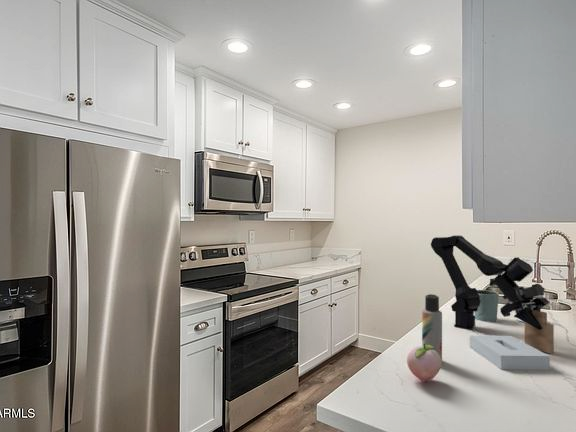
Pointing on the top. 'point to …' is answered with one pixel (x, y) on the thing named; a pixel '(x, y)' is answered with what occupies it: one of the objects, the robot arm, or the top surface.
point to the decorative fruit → (424, 362)
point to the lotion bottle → (432, 324)
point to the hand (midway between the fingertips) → (543, 328)
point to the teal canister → (487, 306)
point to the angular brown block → (540, 333)
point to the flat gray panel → (509, 353)
